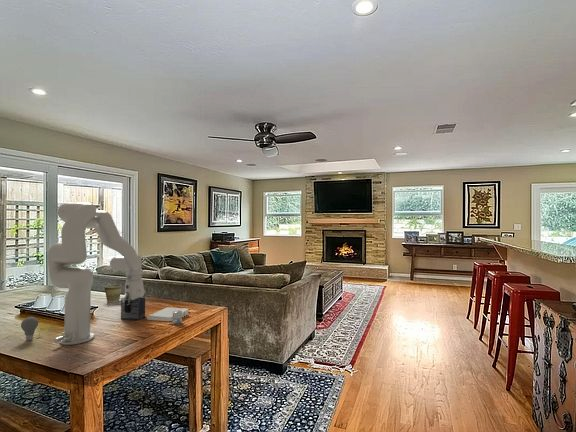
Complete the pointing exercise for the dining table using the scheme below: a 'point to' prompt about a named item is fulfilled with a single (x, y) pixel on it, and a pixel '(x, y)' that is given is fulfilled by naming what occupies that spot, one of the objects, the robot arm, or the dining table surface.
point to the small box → (134, 310)
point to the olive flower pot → (113, 293)
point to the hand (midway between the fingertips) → (134, 309)
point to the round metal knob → (177, 317)
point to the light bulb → (29, 327)
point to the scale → (166, 314)
